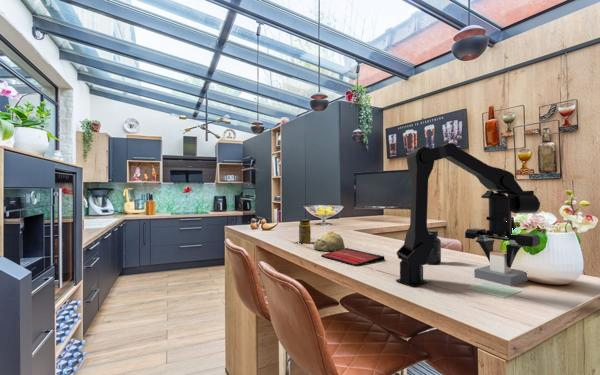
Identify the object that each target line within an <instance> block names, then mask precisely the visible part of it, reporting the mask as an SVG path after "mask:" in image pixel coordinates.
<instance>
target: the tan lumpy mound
mask: <svg viewBox="0 0 600 375" xmlns="http://www.w3.org/2000/svg"><path fill="white" fill-rule="evenodd" d="M344 248H346V246H345V242H344V239H343V237H342V236H341V235H340V234H337V233H336V232H333V231H330V232H327V233H326V234H323V235H322V236H320V237H319V238H318V239H317V240H316V241H315V242H313V249H314V250H316V251H323V252H334V251H338V250H341V249H344Z"/></svg>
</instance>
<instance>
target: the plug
mask: <svg viewBox="0 0 600 375" xmlns="http://www.w3.org/2000/svg"><path fill="white" fill-rule="evenodd" d="M502 251H503V250H499V249H498V250H493V251H491V252H490V262H489V265H490V270H491V271H496V272H501V273H508V272H511V269H512V266H511V267H508V265H507V253H503V252H502Z"/></svg>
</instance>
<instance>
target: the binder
mask: <svg viewBox="0 0 600 375" xmlns="http://www.w3.org/2000/svg"><path fill="white" fill-rule="evenodd" d="M321 257H322V258H324V259H329V260H332V261H337V262H340V263H343V264H346V265H348V266H352V267H359V266H364V265H370V264H374V263H379V262H378V261H379V260H380V261H385V260H386V259H385V258H386V257H385V256H384V255H380V254H377V253H376V254H375V253H371V252H365V251H361V250H356V249H353V248H348V247H345V248H344V249H341V250H338V251H329V252H327V253H322V254H321Z"/></svg>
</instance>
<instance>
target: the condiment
mask: <svg viewBox="0 0 600 375" xmlns="http://www.w3.org/2000/svg"><path fill="white" fill-rule="evenodd" d="M311 226H312V225H311V220H310V219H307V218H304V219H300V220H299V224H298V241H293V243H294V244H298V245H306V244H312V243H313V244H314V241H311V239H312V238H311V228H312V227H311ZM298 242H299V243H298ZM301 243H303V244H301Z"/></svg>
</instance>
